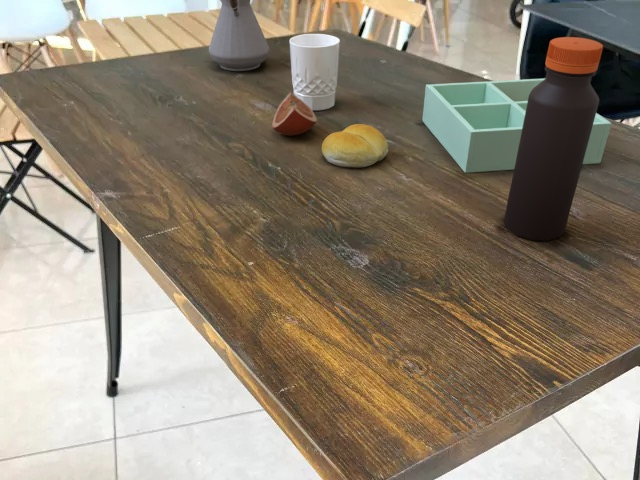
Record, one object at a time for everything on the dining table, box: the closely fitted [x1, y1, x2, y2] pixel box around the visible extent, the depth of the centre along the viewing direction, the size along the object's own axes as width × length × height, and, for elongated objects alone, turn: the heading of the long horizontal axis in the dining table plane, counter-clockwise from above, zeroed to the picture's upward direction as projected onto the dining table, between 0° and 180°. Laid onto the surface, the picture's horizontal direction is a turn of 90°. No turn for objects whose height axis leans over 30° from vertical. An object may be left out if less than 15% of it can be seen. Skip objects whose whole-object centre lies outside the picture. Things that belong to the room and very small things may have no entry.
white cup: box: [289, 33, 341, 112], centre depth 104 cm, size 8×8×10 cm
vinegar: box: [503, 36, 604, 242], centre depth 68 cm, size 7×7×20 cm
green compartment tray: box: [421, 77, 613, 174], centre depth 93 cm, size 19×19×6 cm
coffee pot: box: [208, 0, 271, 72], centre depth 116 cm, size 21×12×15 cm, turn 4°
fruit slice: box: [271, 91, 318, 136], centre depth 95 cm, size 8×7×5 cm
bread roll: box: [321, 123, 389, 168], centre depth 88 cm, size 8×9×4 cm
